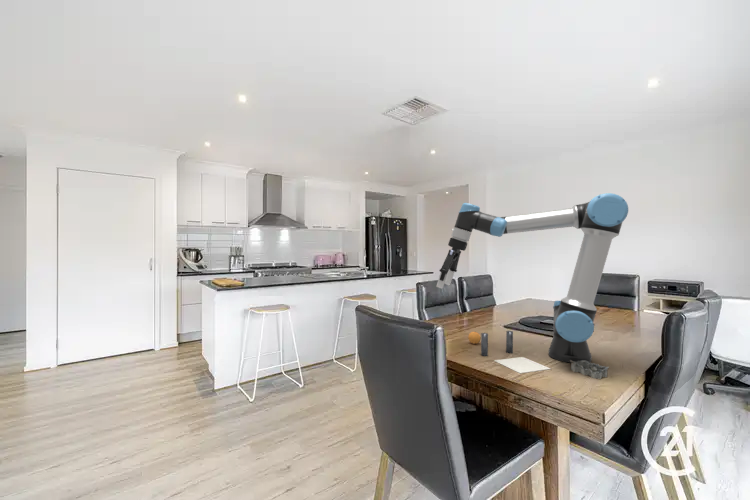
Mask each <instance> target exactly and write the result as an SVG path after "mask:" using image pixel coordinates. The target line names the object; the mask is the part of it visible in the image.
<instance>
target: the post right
mask: <svg viewBox="0 0 750 500" xmlns="http://www.w3.org/2000/svg"><path fill="white" fill-rule="evenodd" d="M505 335H506V336H505V338H506V343H505V350H506V351H505V352H506V354H513V353H514V331H513V330H506V334H505Z"/></svg>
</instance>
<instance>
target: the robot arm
mask: <svg viewBox="0 0 750 500" xmlns="http://www.w3.org/2000/svg"><path fill="white" fill-rule="evenodd" d="M480 209H481V208H480V206H479V205H476V204H472V203H469V202H464V203H462V205H461V206H460V209H459V211H458V215H457V219H456V220H455V221H456V222H455V223H454V226H453V228H452V229H451V231H452V232H451V237H450V238H449V241H448V242H447V243H448V246H449V247H450V248H451V249H449V250H448V253H447V255H446V257H445V259H444V262H443V264H442V266H441V268H439V272H440V274H439V276H438V279H437V283H436V285H435V287H436V288H439V289H441V290H443V289H444V286H445V285H446V286H450V285H451V283H452V280H453V277H454V276H455V275H454V274H455V273H457V271H458V269H457V268H458V264H459V260H460V257H461V253H462V251H466V249H467V246H468V242H469V241H470V239H471V235H472V232H473V230H475V231H479V232H482V233H485V234H488V235H491V236H494V237H499V238H501V237H503V235H506V234H508V235H509V234H516V233H517V234H518V233H524V232H526V233H527V232H535V231H545V230H555V229H562V228H563V229H565V228H572V227H573V228H576V229H577V230H578V229H579V230H580V229H581V231H582V232H583V237H582V242H581V245H580V248H579V252H578V255H577V259H576V262H575V266H574V270H573V274H572V278H571V280H570V285H569V288H568V291H567V294H566V296H565V297H563V298H561V299H560V300H555V301H554V302H553V306H552V308H553V338H552V340H551V343H550V346H549V348H548V356H549V357H550V358H552V359H554V360H557V361H560V362H565V363H570V364H572V362H570V360H572V361H574V362H575V361H576V362H578V361H582V360H586V361H588V362H590V363H592V352H591V350H590V348H589V344H588V342H587V340H589V339H590V338H591V337H592V336H593V334H594V332H595V331H594V330H595V323H594V321H595V318H596V315H597V311H598V309H597V307H596V306H595V304H594V303H595V300H596V296H597V293H598V290H599V285H600V283H601V278H602V276H603V272H604V269H605V265H606V262H607V259H608V254H609V250H610V248H611V244H612V242H613V241H612V240H613V239H614V238H616V237H618V236H620V231H621V228H622V226H623V222H624V221H625V219H626V218H627V216H628V214H629V205H628V202H627V201H626V199H624V198H623V197H622V196H621V195H619V194H616V193H610V192H608V193H602V194H601V193H600V194H598V195H596V196H594V197H593V198H592V199H591V200H589V201H588V202H585V203H581V204H575V205H574V204H573V206H572V207H569V208H562V209H554V210H546V211H539V212H533V213H531V212H530V213H524V214H523V213H522V214H515V215H508V216H496V215H494V214H493V215H492V214H489V213H485V212H482V211H480Z"/></svg>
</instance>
